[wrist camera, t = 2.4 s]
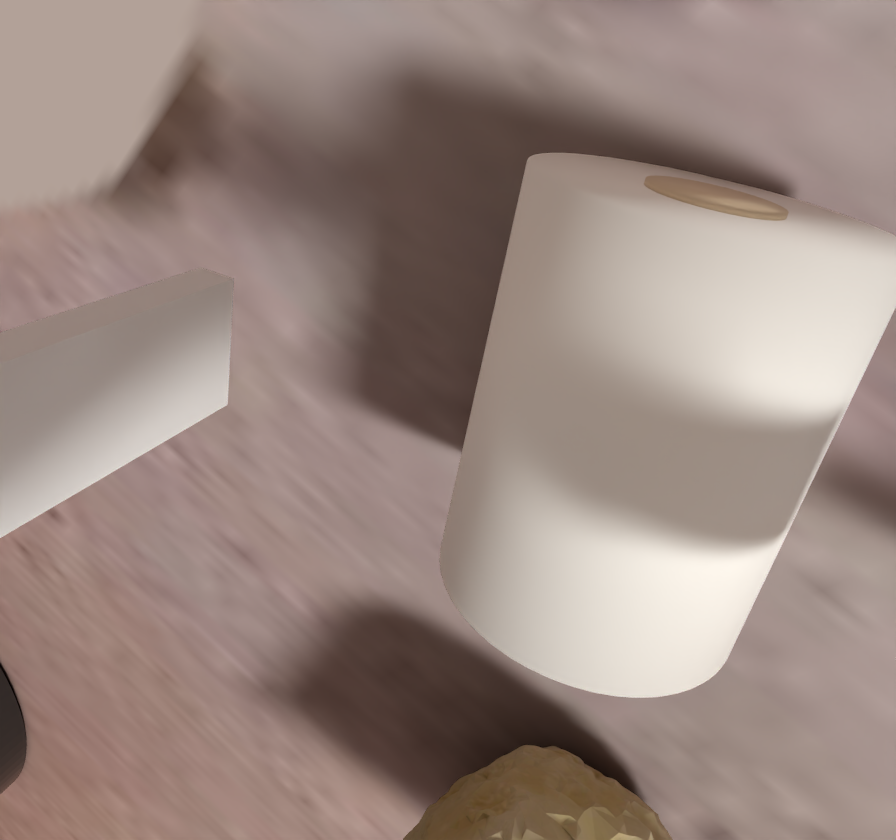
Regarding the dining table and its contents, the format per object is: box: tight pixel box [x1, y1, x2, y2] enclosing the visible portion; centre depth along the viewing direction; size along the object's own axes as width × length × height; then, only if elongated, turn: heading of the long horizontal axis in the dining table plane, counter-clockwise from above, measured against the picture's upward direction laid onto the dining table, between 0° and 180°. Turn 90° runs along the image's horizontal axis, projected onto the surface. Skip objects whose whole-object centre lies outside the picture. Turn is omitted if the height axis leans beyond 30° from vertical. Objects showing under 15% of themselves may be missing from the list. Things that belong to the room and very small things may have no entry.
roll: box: [439, 153, 896, 698], centre depth 16 cm, size 9×7×7 cm
